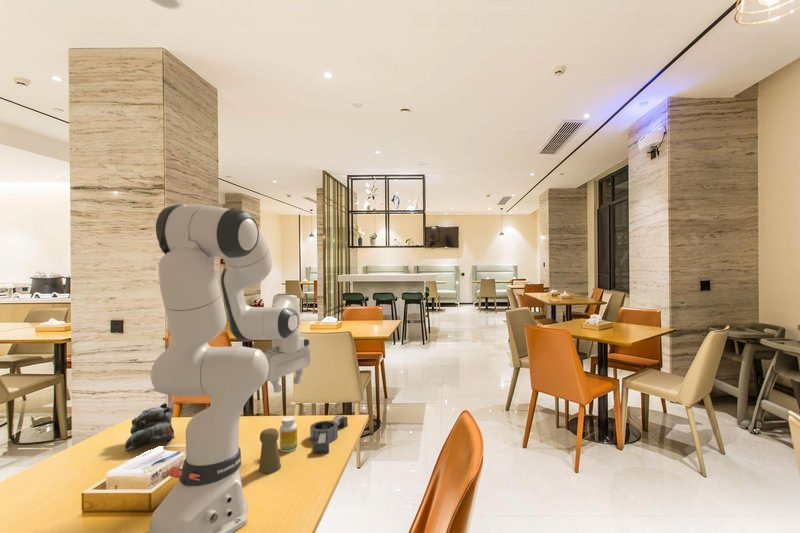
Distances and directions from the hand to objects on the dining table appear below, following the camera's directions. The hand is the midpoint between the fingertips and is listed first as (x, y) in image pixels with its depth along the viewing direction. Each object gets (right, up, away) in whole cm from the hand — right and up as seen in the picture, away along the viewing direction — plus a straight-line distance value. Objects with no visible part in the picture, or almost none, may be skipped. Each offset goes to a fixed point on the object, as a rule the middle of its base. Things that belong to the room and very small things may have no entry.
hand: (287, 387), depth 124 cm
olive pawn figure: (-1, -20, -13) cm, 23 cm away
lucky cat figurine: (-47, -21, +5) cm, 52 cm away
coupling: (+12, -19, +7) cm, 24 cm away
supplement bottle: (0, -20, 0) cm, 20 cm away
